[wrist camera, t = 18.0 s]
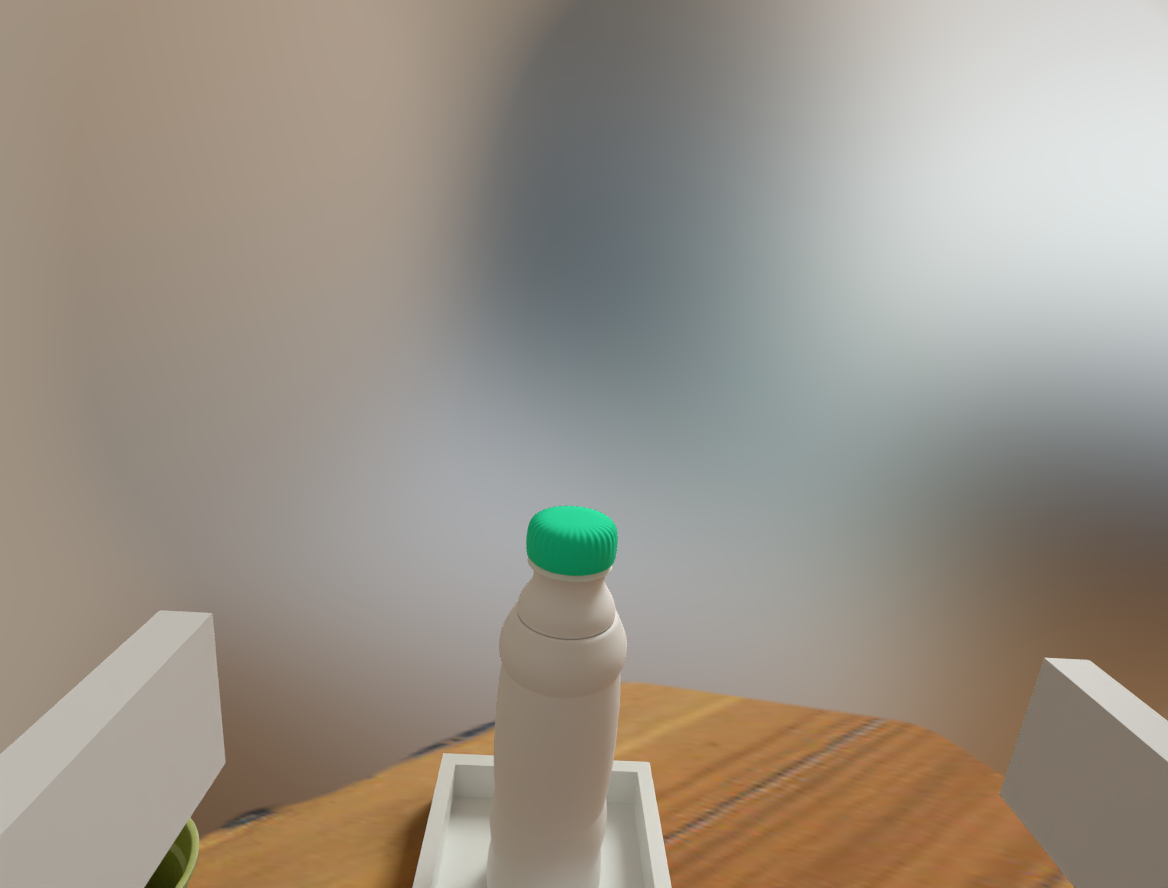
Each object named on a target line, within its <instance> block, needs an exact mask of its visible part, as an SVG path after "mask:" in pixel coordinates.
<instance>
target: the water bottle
mask: <svg viewBox="0 0 1168 888" xmlns="http://www.w3.org/2000/svg"><path fill="white" fill-rule="evenodd" d="M617 540H618V536H617V528H616V526H615V524H614V522H613V521H612V520H611V519H610V518H609V517H607V516H606V515H605V514H602V513H601V512H598V511H596V510H592V509H590V508H585V507H579V506H576V507H574V506H558V507H553V508H548V509H544V510H542V511H540V512H538V513H537V514H535V515H534V517H533V518H532V519H531V521H530V523H529V527H528V532H527V543H526V544H527V554H528V563H529V565H530V566H531V568H532V569H533V570H534V575H533V577H532V579H531V580H530V581H529V582H528V583H527V585H526V586H525V587H524V589H523V590H522V592H521V594H520V596H519V599H518V601H517V603H516V604H515V605H514V607H513V608H512V610H511V612H510V613H509V615H508V616H507V618H506V620H505V622H504V625H503V627H502V630H501V634H500V642H499V650H500V657H501V661H502V666H501V672H500V678H499V686H498V694H497V706H496V719H495V738H494V784H495V789H494V793H493V797H492V802H491V810H490V834H491V841H490V845H489V852H488V860H487V874H486V879H487V888H599V882H600V873H601V846H602V843H603V839H604V834H605V828H606V819H607V803H606V795H607V791H608V787H609V782H610V777H611V771H612V765H613V758H614V751H615V744H616V735H617V726H618V716H619V704H620V672H621V670H622V668H623V666H624V663H625V659H626V653H627V641H626V634H625V631H624V628H623V625H622V623H621V620H620V618H619V615H618V613H617V612H616V610H615V603H614V600H613V597H612V595H611V593H610V591H609V590H608V588H607V586H606V584H605V580H604V579H605V576H607V575H608V574H609V573H610V572H611V570H612V564H613V563H614V560H615V556H616V551H617Z"/></svg>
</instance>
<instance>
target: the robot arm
mask: <svg viewBox="0 0 1168 888" xmlns="http://www.w3.org/2000/svg"><path fill="white" fill-rule="evenodd" d="M224 764H225V752H224V741H223V730H222V719H221V706H220V695H219V684H218V673H217V661H216V649H215V638H214V627H213V615H212V613H198V612H179V611H159V612H158V613H156V614H155V615H154V616H153V617H152V618H151V619H150V620H149V621H148V622H146V623H145V624H144V625H143V626H142V627H141V628H140V629H139V630H138V631H136V632H135V633H134V634H133V635H132V636H131V637H130V638H129V639H128V640H127V641H125V642H124V643H123V644H122V645H121V646H120V647H119V648H118V649H117V650H115V652H113V653H112V654H111V655H110V656H109V657H108V658H107V659H105V660H104V661H103V662H102V663H101V664H100V665H99V666H98V667H97V668H96V669H94V670H93V671H92V672H91V673H90V674H89V675H88V676H87V677H86V678H84V679H83V680H82V681H81V682H80V683H79V684H78V685H77V686H76V687H74V688H73V689H72V690H71V691H70V692H69V693H68V694H67V695H66V696H65V697H63V698H62V699H61V700H60V701H59V702H58V703H57V704H56V705H55V706H53V707H52V708H51V709H50V710H49V711H48V712H47V713H46V714H45V715H43V716H42V717H41V718H40V719H39V720H38V721H37V722H36V723H35V724H34V725H33V726H31V727H30V728H29V729H28V730H27V731H26V732H25V733H24V734H22V735H21V736H20V737H19V738H18V739H17V740H16V741H15V742H14V743H12V745H10V746H9V747H8V748H7V749H6V750H5V751H4V752H2V753H1V754H0V888H144V887H145V886H146V884H147V883H148V881H149V880H150V878H151V876H152V875H153V873H154V872H155V870H156V869H157V867H158V866H159V864H160V863H161V861H162V860H163V858H164V857H165V855H166V853H167V852H168V850H169V849H170V847H171V846H172V844H173V843H174V841H175V840H176V838H177V837H178V835H179V833H180V832H181V830H182V829H183V827H184V826H185V824H186V823H187V821H188V820H189V818H190V817H191V815H192V813H193V812H194V810H195V809H196V807H197V805H198V804H199V803H200V801H201V800H202V798H203V797H204V795H205V793H206V792H207V790H208V789H209V787H210V786H211V784H212V783H213V781H214V779H215V778H216V777H217V775H218V773H219V772H220V770H221V769H222V767H223V766H224ZM1000 796H1001V797H1002V798H1003V799H1004V800H1005V802H1006V803H1007V804H1008V805H1009V807H1010V808H1011V809H1012V810H1013V812H1014V813H1015V814H1016V815H1017V817H1018V818H1019V819H1020V820H1021V822H1022V823H1023V824H1024V825H1025V827H1026V828H1027V829H1028V830H1029V831H1030V833H1031V834H1032V835H1033V836H1034V838H1035V839H1036V840H1037V841H1038V843H1039V844H1040V845H1041V846H1042V848H1043V849H1044V850H1045V851H1046V853H1047V854H1048V855H1049V856H1050V857H1051V859H1052V860H1053V861H1054V862H1055V864H1056V865H1057V866H1058V867H1059V869H1060V870H1061V871H1062V872H1063V874H1064V875H1065V876H1066V877H1067V879H1068V880H1069V881H1070V882H1071V884H1072V885H1073V886H1074V887H1075V888H1168V721H1167V720H1165V719H1164V718H1163V717H1162V716H1160V715H1159V714H1158V713H1156V712H1155V711H1154V710H1153V709H1151V708H1150V707H1149V706H1148V705H1146V704H1145V703H1144V702H1142V701H1141V700H1140V699H1138V698H1137V697H1136V696H1135V695H1133V694H1132V693H1131V692H1129V691H1128V690H1127V689H1126V688H1124V687H1123V686H1122V685H1121V684H1119V683H1118V682H1117V681H1115V680H1114V679H1113V678H1111V677H1110V676H1109V675H1108V674H1106V673H1105V672H1104V671H1102V670H1101V669H1100V668H1099V667H1097V666H1096V665H1095V664H1093V663H1092V662H1091V661H1090V660H1076V659H1058V658H1057V659H1056V658H1044V661H1043V663H1042V667H1041V670H1040V673H1039V676H1038V679H1037V682H1036V685H1035V688H1034V691H1033V694H1032V697H1031V700H1030V703H1029V706H1028V709H1027V712H1026V715H1025V718H1024V721H1023V725H1022V727H1021V730H1020V734H1019V736H1018V740H1017V743H1016V746H1015V749H1014V752H1013V755H1012V758H1011V761H1010V764H1009V767H1008V770H1007V773H1006V776H1005V779H1004V782H1003V785H1002V788H1001V791H1000Z"/></svg>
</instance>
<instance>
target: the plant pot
mask: <svg viewBox="0 0 1168 888" xmlns="http://www.w3.org/2000/svg"><path fill="white" fill-rule="evenodd" d="M198 853H199V836H198V832H197V828H196V826H195V824H194V822H193V820H192V819H191V818H189V820H188V821H187V823H186V824H185V826H184V827H183V829H182V830H181V832H180V833H179V835H178V837H177V838H176V840H175V841H174V843H173V844H172V846H171V847H170V849H169V850H168V852H167V853H166V855H165V857H164V858H163V860H162V861H161V863H160V864H159V866H158V867H157V869H156V870H155V872H154V873H153V875H152V876H151V878H150V880H149V881H148V883H147V884H146V886H145V887H144V888H187V885H188V881H189V880H190V878H191V876H192V873H193V871H194V868H195V866H196V863H197V858H198Z"/></svg>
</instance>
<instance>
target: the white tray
mask: <svg viewBox="0 0 1168 888" xmlns="http://www.w3.org/2000/svg"><path fill="white" fill-rule="evenodd" d="M494 789H495V784H494V756H493V755H469V754H446V753H443V757H442V761H441V766H440V770H439V774H438V779H437V783H436V787H435V792H434V796H433V800H432V805H431V809H430V813H429V818H428V822H427V826H426V831H425V835H424V839H423V844H422V848H421V852H420V857H419V861H418V865H417V870H416V874H415V878H414V883H413V887H412V888H487V879H486V874H487V860H488V852H489V845H490V841H491V834H490V810H491V802H492V797H493V793H494ZM606 803H607V819H606V828H605V834H604V839H603V843H602V846H601V873H600V882H599V888H671V882H670V876H669V871H668V865H667V859H666V854H665V848H664V842H663V836H662V831H661V825H660V819H659V814H658V808H657V802H656V796H655V791H654V785H653V779H652V774H651V768H650V762H635V761H613V765H612V771H611V777H610V782H609V787H608V791H607V795H606Z"/></svg>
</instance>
